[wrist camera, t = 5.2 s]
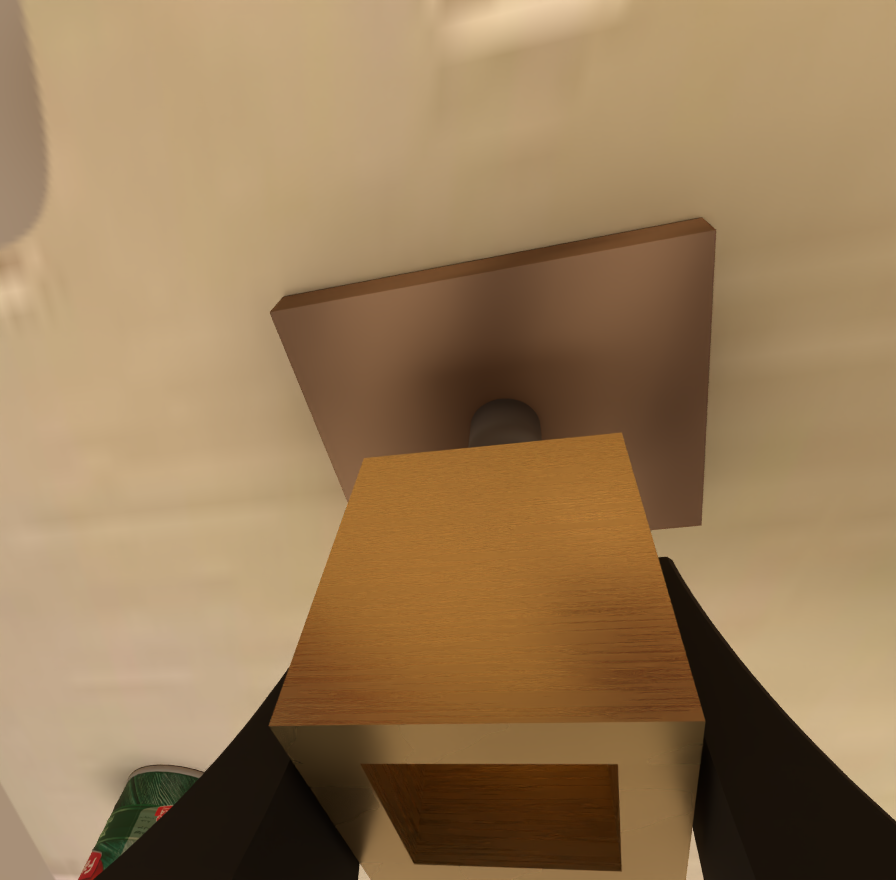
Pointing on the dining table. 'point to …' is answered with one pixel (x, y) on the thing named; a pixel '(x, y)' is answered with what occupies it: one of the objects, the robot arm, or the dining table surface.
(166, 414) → the dining table surface
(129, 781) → the canned tomato
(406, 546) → the brass collar
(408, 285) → the post stand
